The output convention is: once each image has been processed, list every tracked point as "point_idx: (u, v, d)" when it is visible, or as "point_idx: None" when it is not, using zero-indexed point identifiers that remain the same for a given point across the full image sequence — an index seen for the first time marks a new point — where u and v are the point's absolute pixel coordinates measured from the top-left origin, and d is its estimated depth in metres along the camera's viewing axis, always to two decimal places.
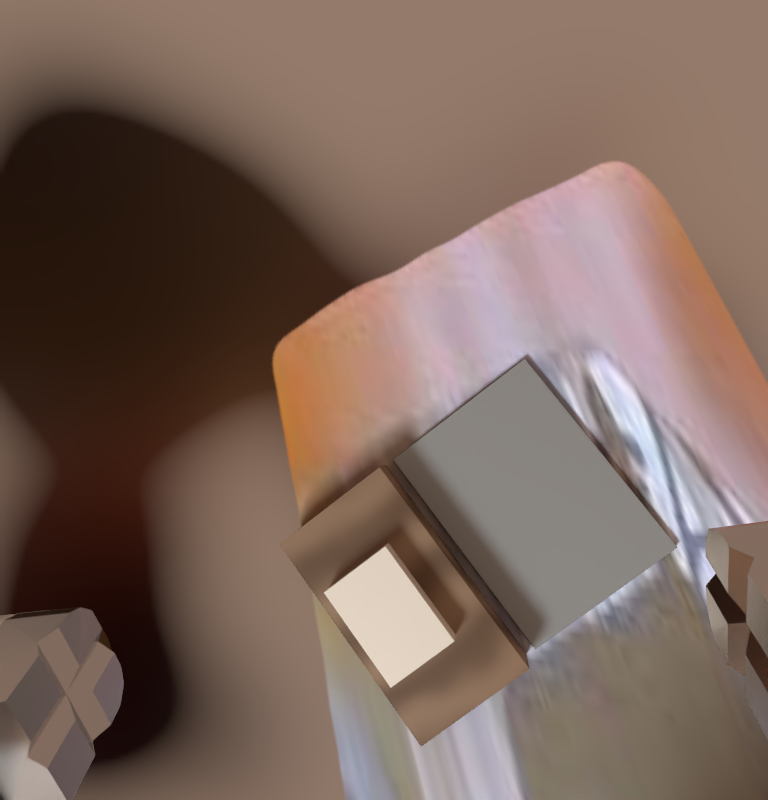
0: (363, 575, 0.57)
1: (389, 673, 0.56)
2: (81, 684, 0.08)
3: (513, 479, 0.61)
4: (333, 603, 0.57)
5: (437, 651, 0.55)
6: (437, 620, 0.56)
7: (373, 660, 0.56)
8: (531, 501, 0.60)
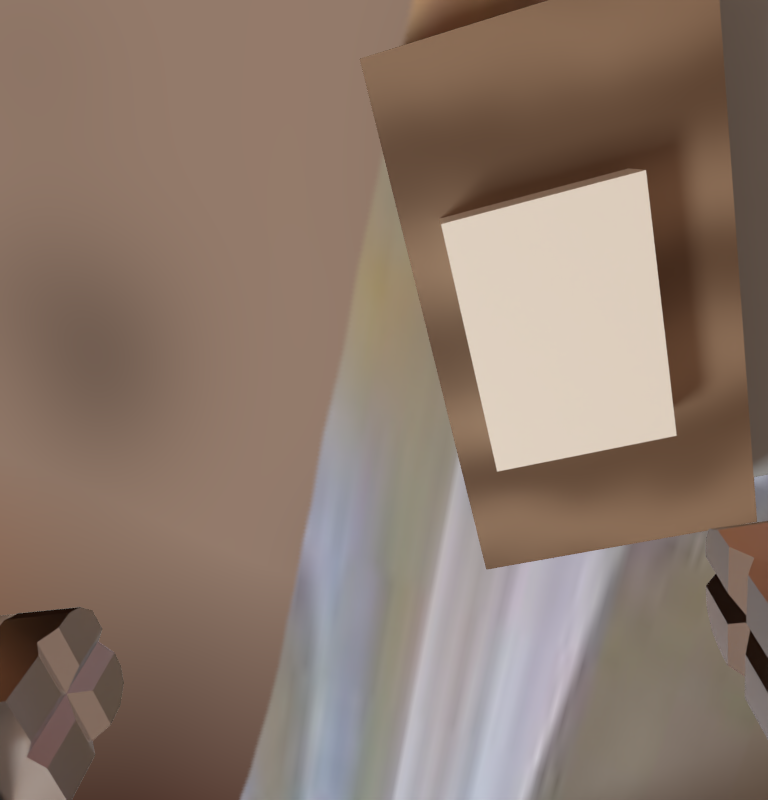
0: (557, 220, 0.22)
1: (508, 445, 0.25)
2: (81, 684, 0.08)
3: None
4: (453, 258, 0.23)
5: (629, 441, 0.25)
6: (666, 383, 0.24)
7: (486, 410, 0.25)
8: None
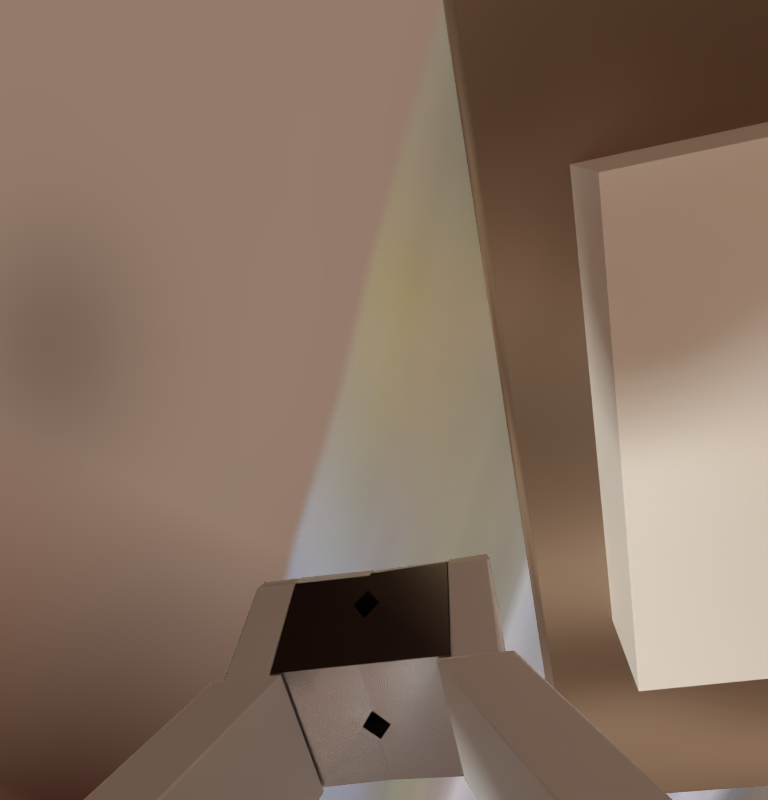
0: None
1: (670, 648, 0.12)
2: None
3: None
4: (615, 259, 0.09)
5: None
6: None
7: (638, 581, 0.12)
8: None
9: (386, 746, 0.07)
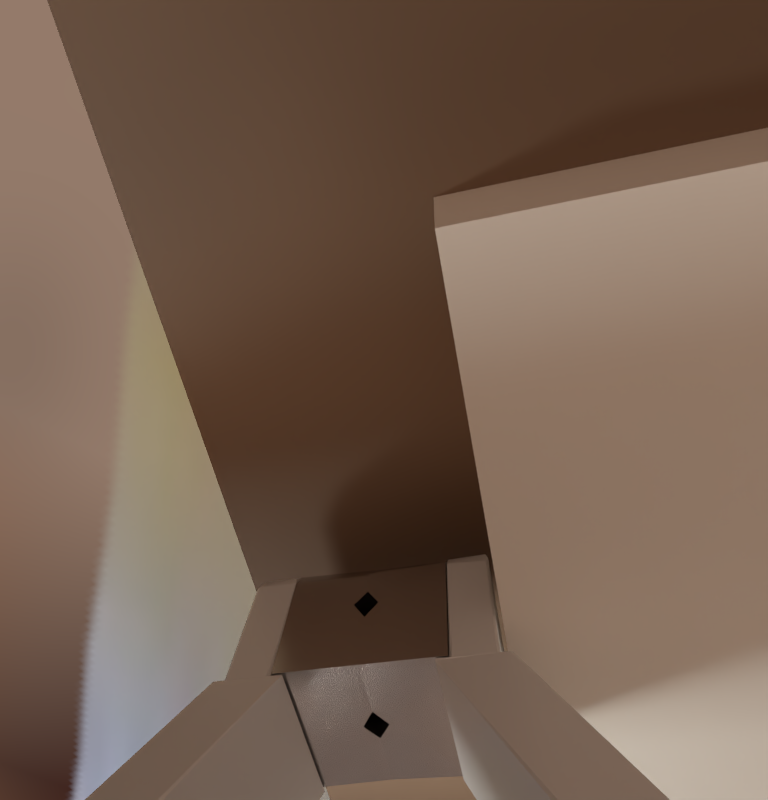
0: None
1: None
2: None
3: None
4: (476, 370, 0.06)
5: None
6: None
7: None
8: None
9: (385, 746, 0.07)
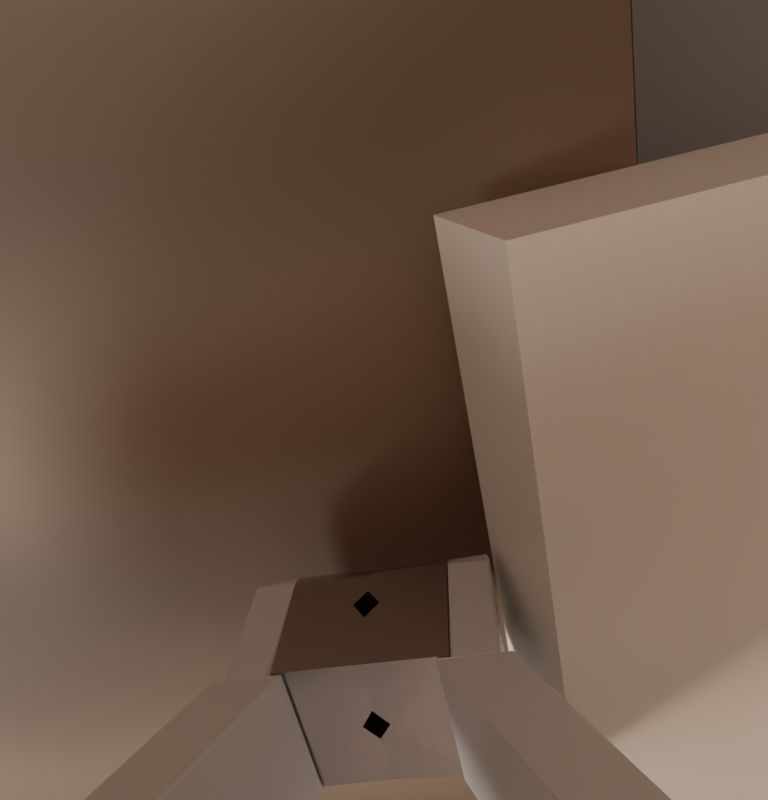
0: None
1: None
2: None
3: None
4: (542, 393, 0.05)
5: None
6: None
7: None
8: None
9: (386, 746, 0.07)
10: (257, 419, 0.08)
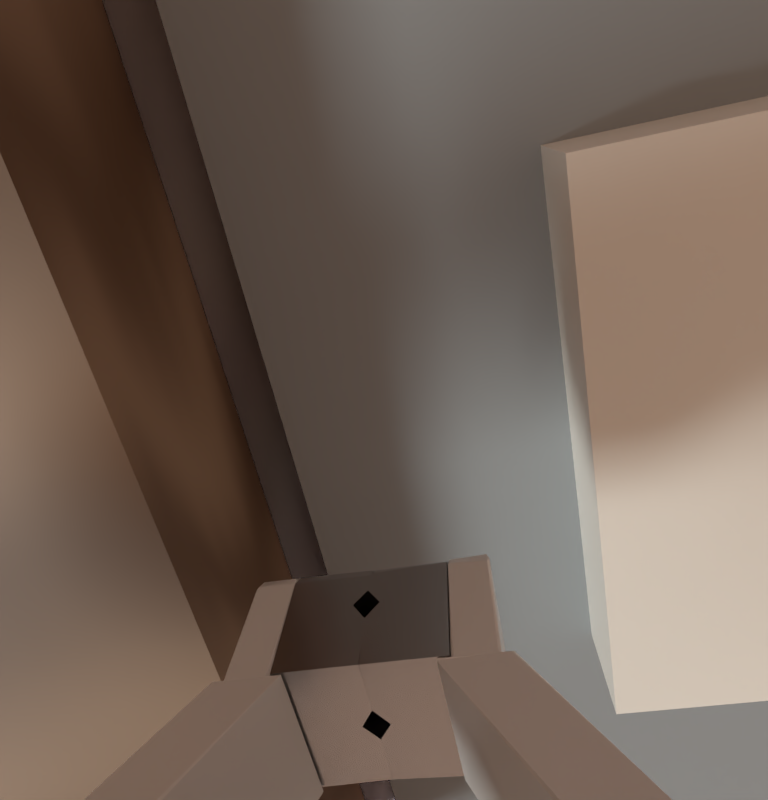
0: None
1: None
2: None
3: None
4: None
5: None
6: None
7: None
8: None
9: (386, 746, 0.07)
10: None
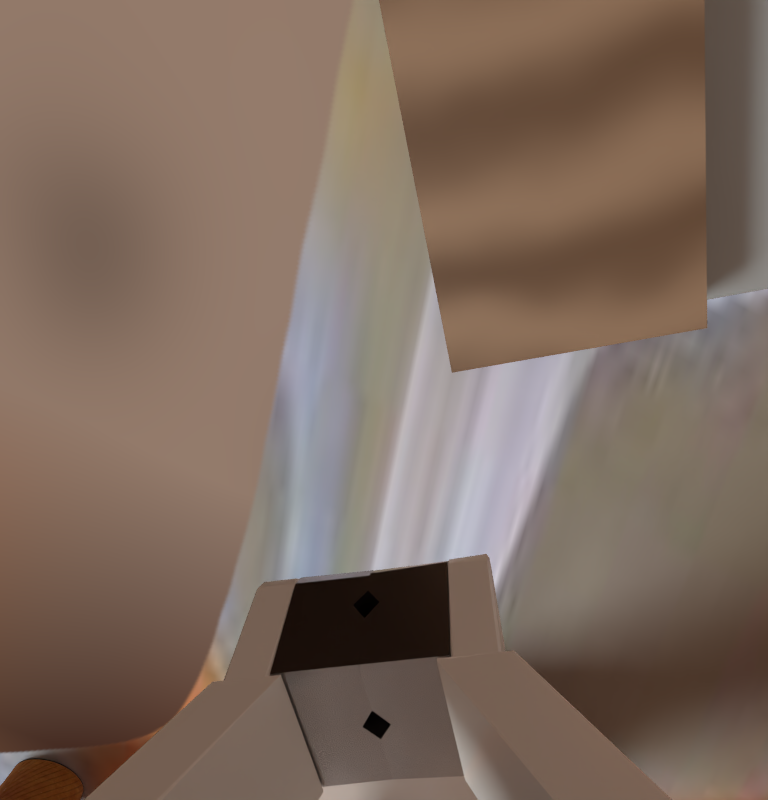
0: None
1: None
2: None
3: None
4: None
5: None
6: None
7: None
8: None
9: (386, 746, 0.07)
10: (573, 19, 0.25)
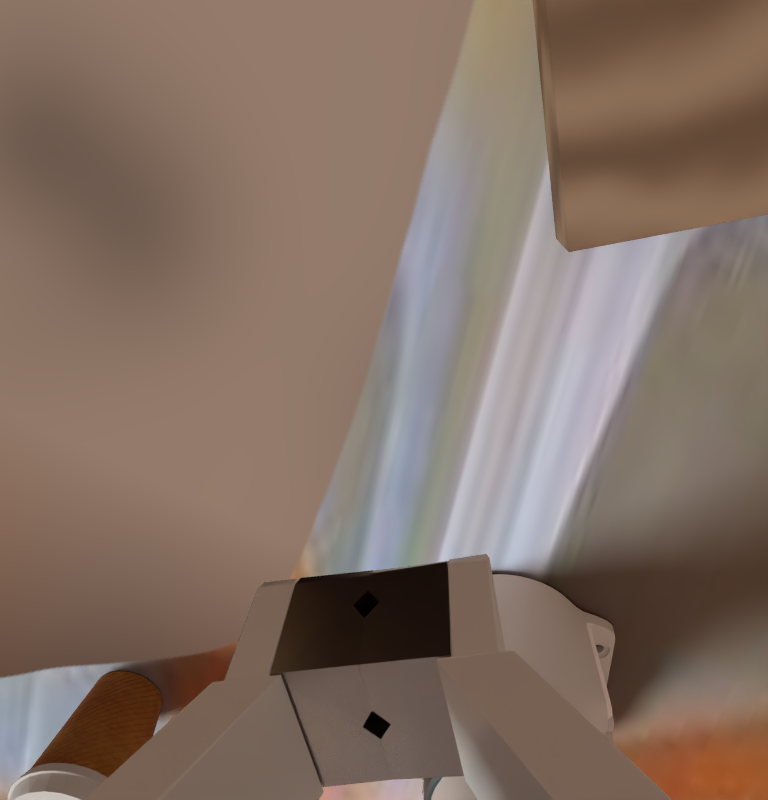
0: None
1: None
2: None
3: None
4: None
5: None
6: None
7: None
8: None
9: (386, 746, 0.07)
10: None
